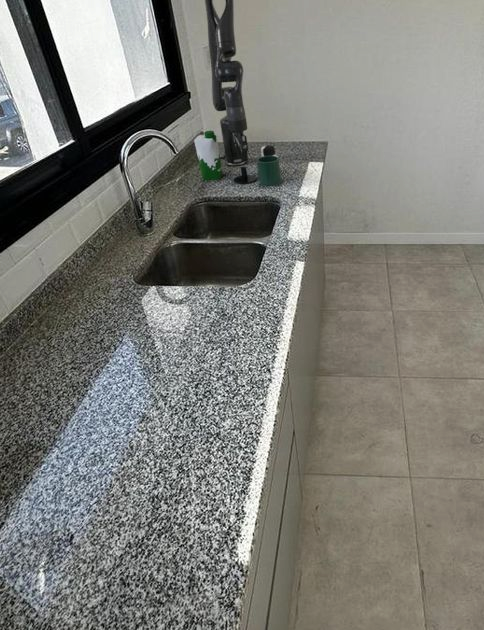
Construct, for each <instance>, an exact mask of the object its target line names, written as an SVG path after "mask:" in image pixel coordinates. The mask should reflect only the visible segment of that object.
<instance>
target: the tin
mask: <svg viewBox="0 0 484 630" xmlns="http://www.w3.org/2000/svg"><path fill="white" fill-rule="evenodd" d="M276 156H277V155H275V156H263V157H262V156H260V157H258V158H256V166H257V175H258V183H259V185H260V186H263V187H275V186H279V185H280V184H281V183H282V177H281V167H280V158H279V156H278V157H276Z"/></svg>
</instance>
